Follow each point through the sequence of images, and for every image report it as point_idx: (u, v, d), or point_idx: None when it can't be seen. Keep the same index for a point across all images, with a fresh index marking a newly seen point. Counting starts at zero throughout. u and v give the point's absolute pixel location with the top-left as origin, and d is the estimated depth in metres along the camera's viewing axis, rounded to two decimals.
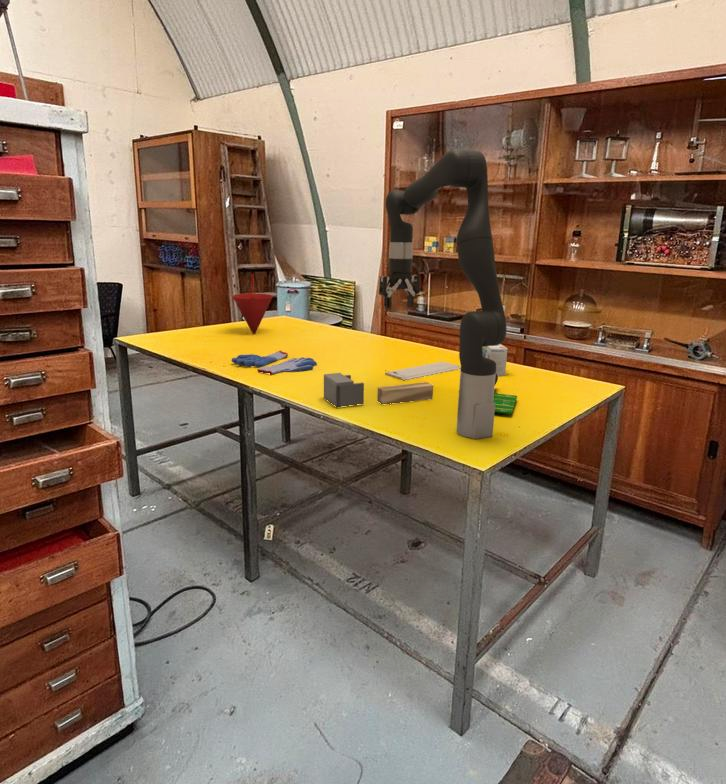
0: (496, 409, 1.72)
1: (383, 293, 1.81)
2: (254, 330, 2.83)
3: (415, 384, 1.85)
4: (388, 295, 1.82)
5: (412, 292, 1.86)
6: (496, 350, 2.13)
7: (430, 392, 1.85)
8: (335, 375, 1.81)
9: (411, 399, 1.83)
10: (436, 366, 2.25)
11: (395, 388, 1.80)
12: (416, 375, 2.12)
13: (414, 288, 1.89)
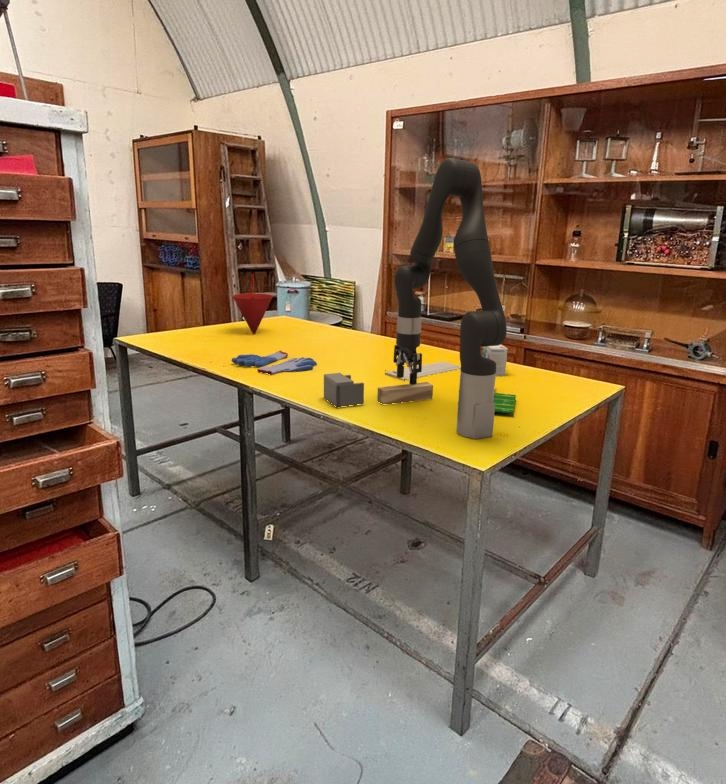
0: (498, 409, 1.72)
1: None
2: (254, 330, 2.83)
3: (415, 384, 1.85)
4: None
5: None
6: (496, 350, 2.13)
7: (430, 392, 1.85)
8: (335, 375, 1.81)
9: (411, 399, 1.83)
10: (436, 366, 2.25)
11: (395, 388, 1.80)
12: None
13: None
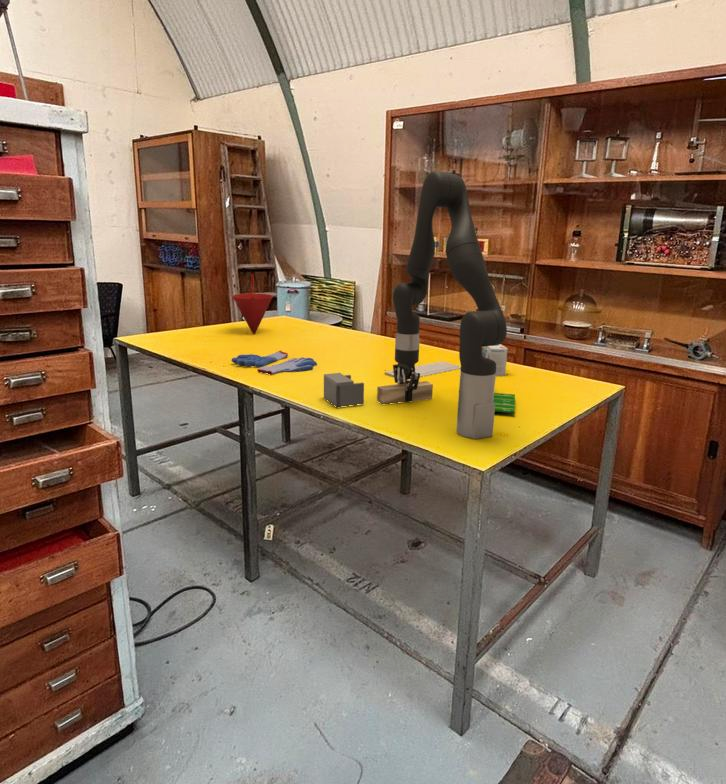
0: (499, 409, 1.72)
1: None
2: (254, 330, 2.83)
3: None
4: None
5: None
6: (496, 350, 2.13)
7: (430, 391, 1.85)
8: (335, 375, 1.81)
9: None
10: (436, 366, 2.25)
11: (395, 387, 1.80)
12: None
13: None
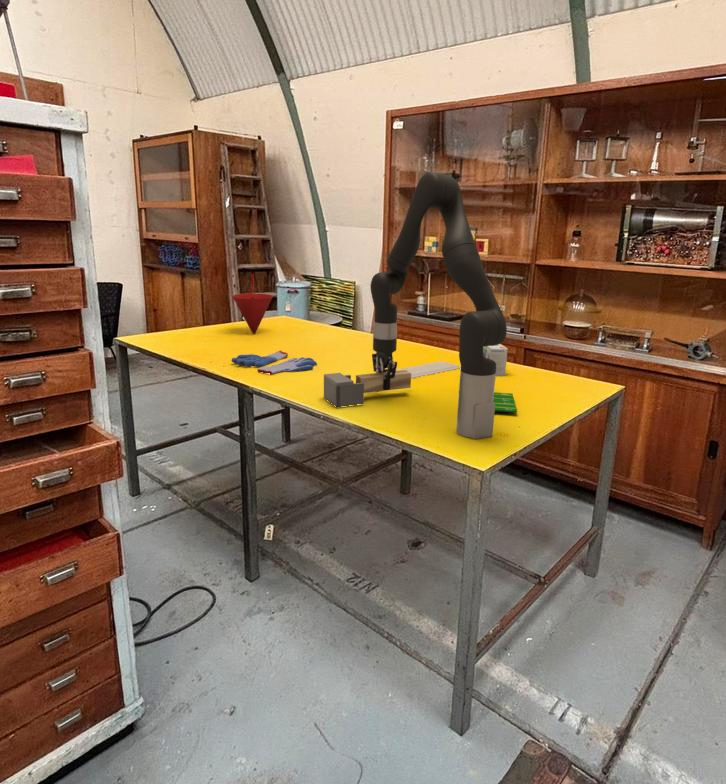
0: (501, 408, 1.73)
1: None
2: (254, 330, 2.83)
3: None
4: None
5: None
6: (496, 350, 2.13)
7: (408, 380, 1.88)
8: (335, 375, 1.81)
9: None
10: (435, 366, 2.26)
11: (373, 376, 1.83)
12: (415, 375, 2.12)
13: None
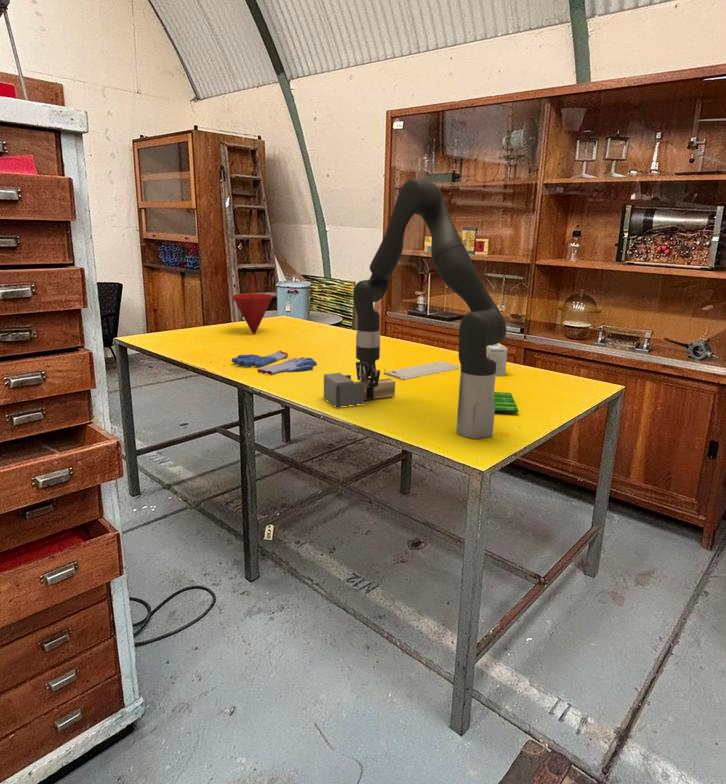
0: (502, 408, 1.73)
1: None
2: (254, 330, 2.83)
3: None
4: None
5: None
6: (496, 350, 2.13)
7: (392, 388, 1.86)
8: (335, 375, 1.81)
9: None
10: (435, 366, 2.26)
11: None
12: (415, 374, 2.13)
13: None
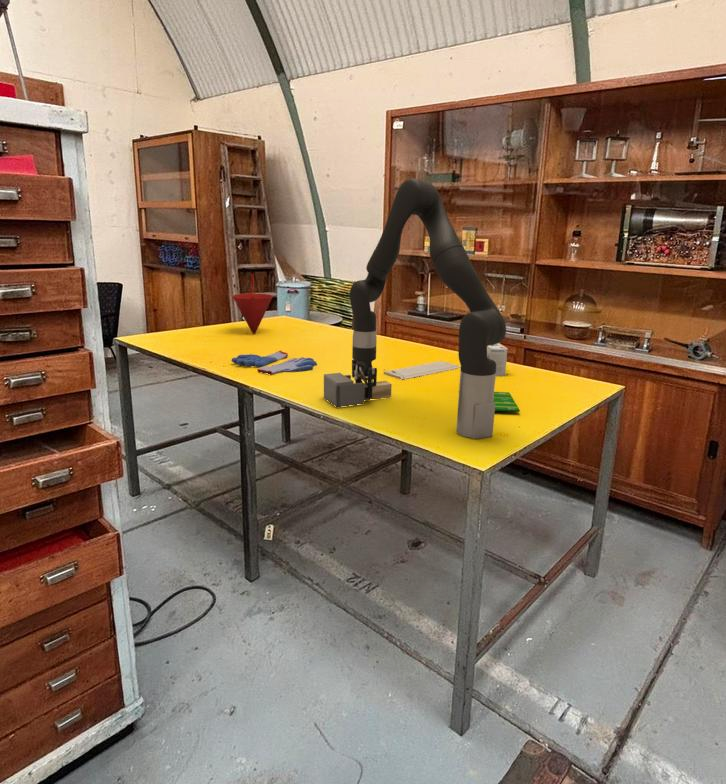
0: (503, 407, 1.73)
1: (375, 384, 1.78)
2: (254, 330, 2.83)
3: None
4: None
5: None
6: (496, 350, 2.13)
7: (388, 391, 1.85)
8: (335, 375, 1.81)
9: None
10: (435, 365, 2.26)
11: None
12: (414, 374, 2.13)
13: None
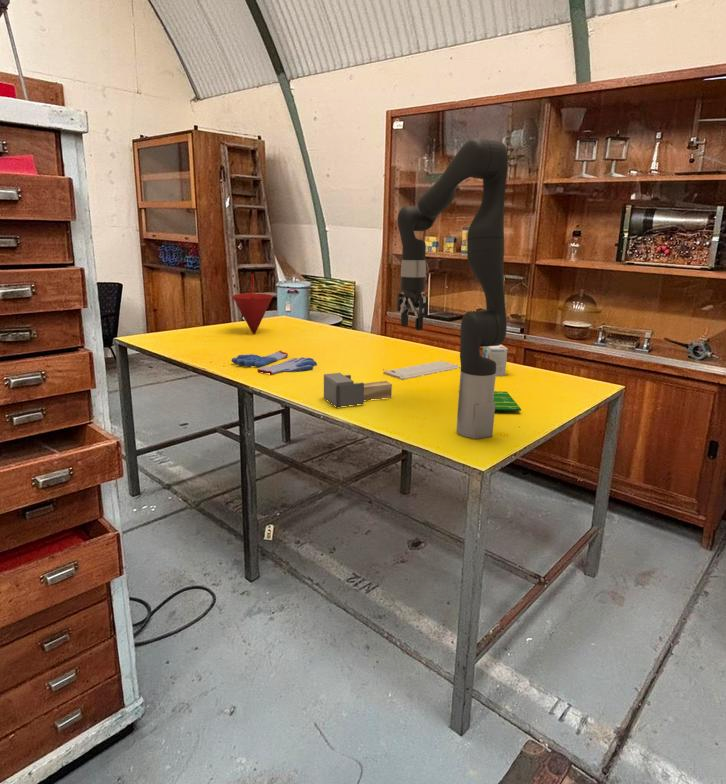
0: (505, 407, 1.74)
1: None
2: (254, 330, 2.83)
3: (374, 383, 1.85)
4: None
5: None
6: (496, 350, 2.13)
7: (389, 391, 1.85)
8: (335, 375, 1.81)
9: (369, 398, 1.83)
10: (434, 365, 2.26)
11: None
12: (414, 374, 2.13)
13: None
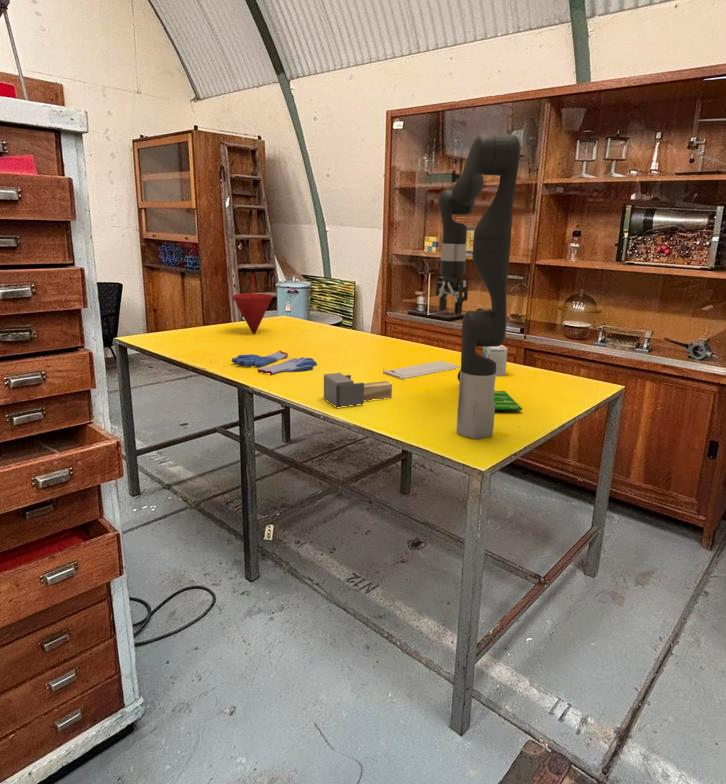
0: (506, 407, 1.74)
1: (466, 298, 1.72)
2: (254, 330, 2.83)
3: (374, 383, 1.85)
4: None
5: None
6: (496, 350, 2.13)
7: (389, 391, 1.85)
8: (335, 375, 1.81)
9: (369, 398, 1.83)
10: (434, 365, 2.26)
11: None
12: (414, 374, 2.13)
13: None
